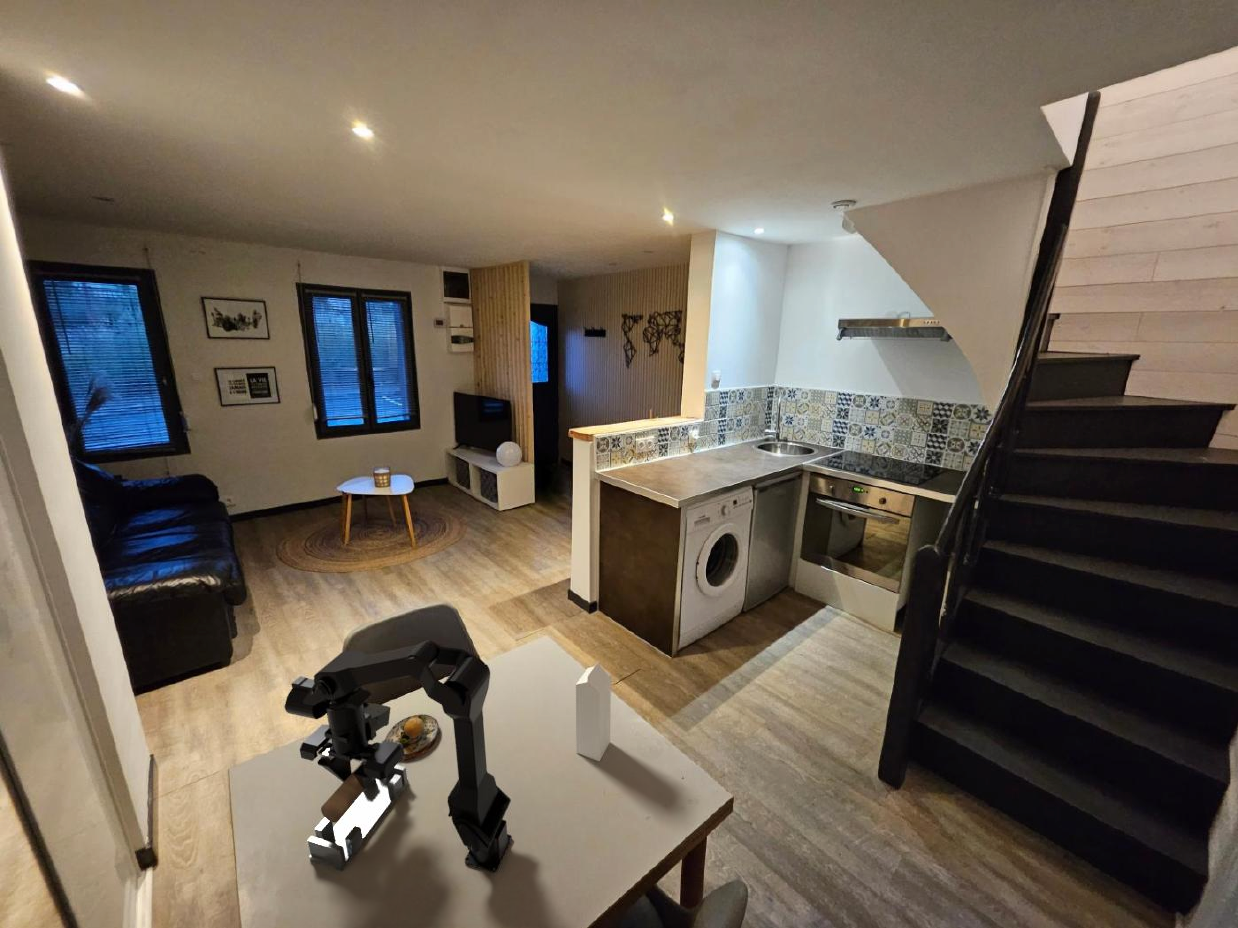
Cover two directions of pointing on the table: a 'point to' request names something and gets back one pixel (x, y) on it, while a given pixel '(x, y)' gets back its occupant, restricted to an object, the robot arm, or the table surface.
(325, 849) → the cradle
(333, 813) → the cylinder
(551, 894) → the table surface
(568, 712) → the table surface
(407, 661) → the robot arm
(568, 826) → the table surface
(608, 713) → the milk
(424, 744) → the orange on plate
